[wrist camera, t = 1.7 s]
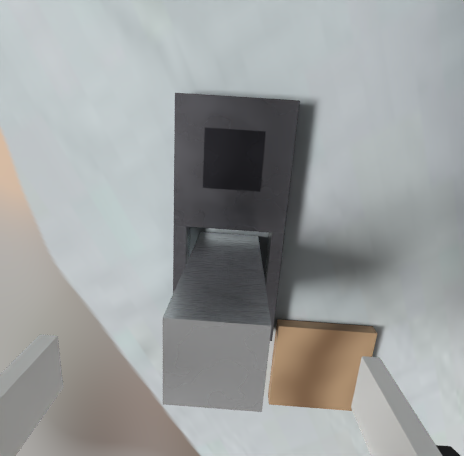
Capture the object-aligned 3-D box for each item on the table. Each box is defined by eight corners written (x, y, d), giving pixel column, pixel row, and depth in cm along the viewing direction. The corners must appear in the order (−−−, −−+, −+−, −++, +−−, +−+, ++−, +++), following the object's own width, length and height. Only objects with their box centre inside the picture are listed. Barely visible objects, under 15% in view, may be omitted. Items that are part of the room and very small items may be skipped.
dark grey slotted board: (295, 103, 22) (299, 100, 20) (270, 329, 27) (271, 341, 25) (179, 95, 22) (174, 92, 20) (176, 322, 27) (172, 333, 25)
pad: (372, 326, 26) (377, 333, 25) (355, 402, 29) (359, 411, 28) (277, 319, 26) (278, 326, 25) (268, 395, 29) (269, 404, 28)
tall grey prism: (258, 235, 24) (271, 325, 13) (253, 287, 26) (261, 411, 14) (200, 231, 24) (162, 317, 13) (198, 283, 26) (163, 404, 14)
